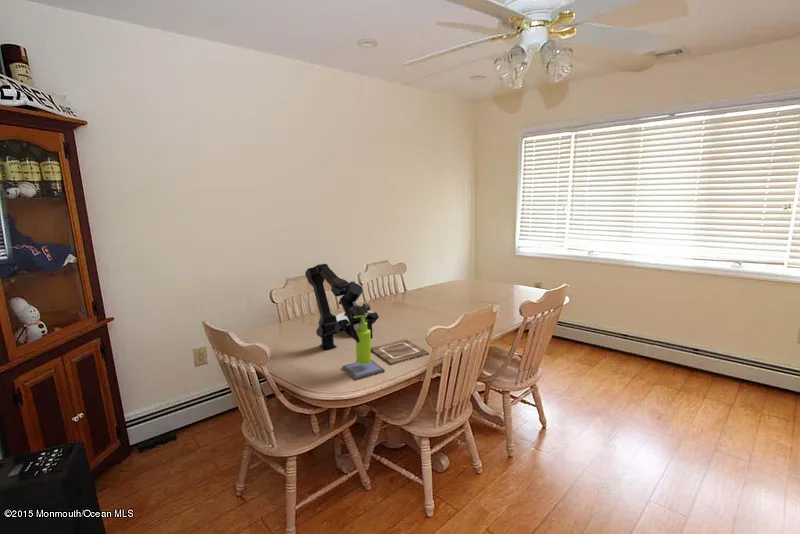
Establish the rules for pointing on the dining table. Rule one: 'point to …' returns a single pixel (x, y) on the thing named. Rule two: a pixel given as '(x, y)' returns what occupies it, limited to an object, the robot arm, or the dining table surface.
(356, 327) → the soup bowl
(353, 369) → the ink pad
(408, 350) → the board
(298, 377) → the dining table surface
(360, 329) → the soap dispenser
